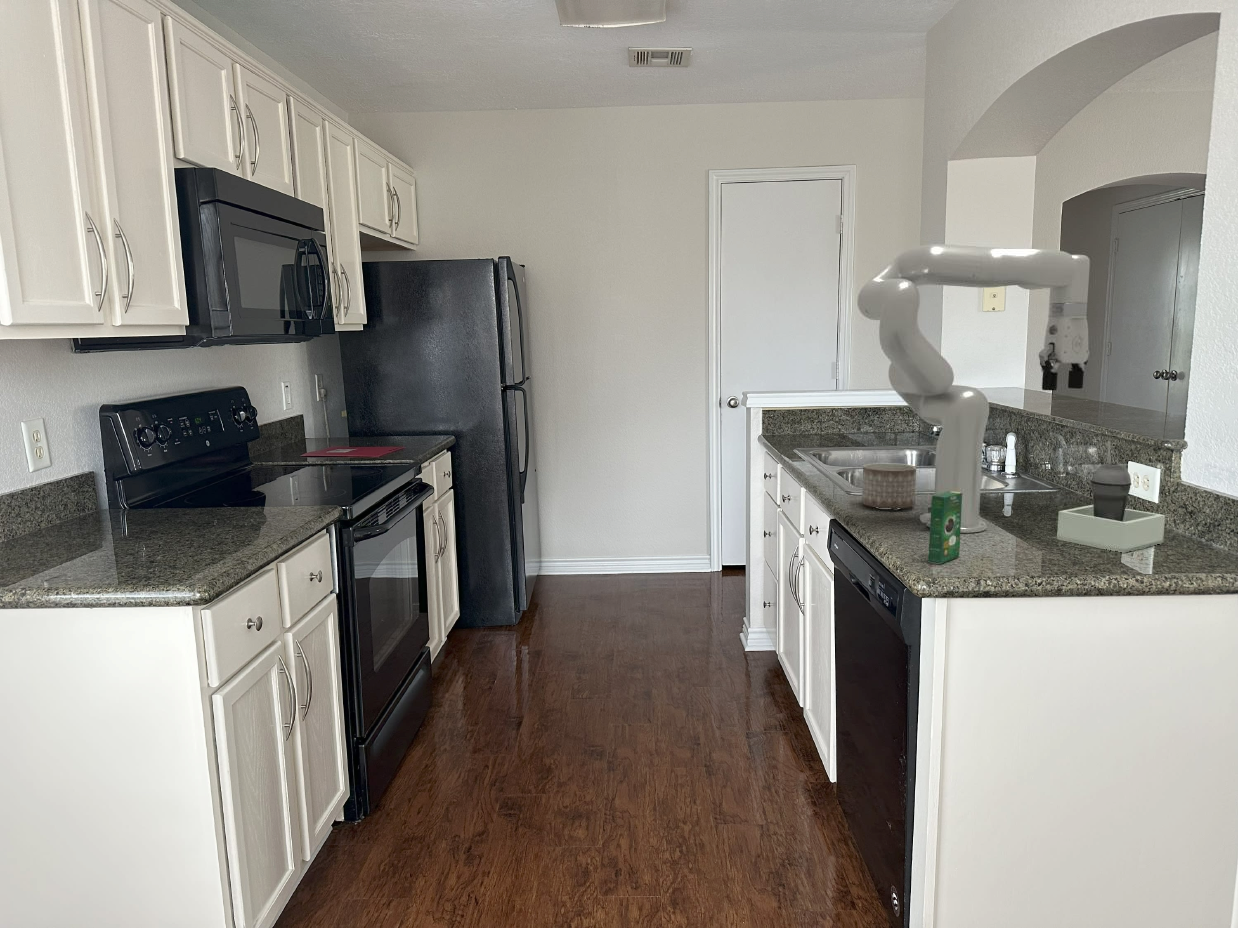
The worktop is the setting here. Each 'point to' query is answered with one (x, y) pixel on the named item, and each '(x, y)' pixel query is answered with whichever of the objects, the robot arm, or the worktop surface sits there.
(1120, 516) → the beverage cup
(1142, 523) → the walled box
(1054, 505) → the worktop surface
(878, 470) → the planter
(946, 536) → the green upright box
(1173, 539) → the worktop surface
